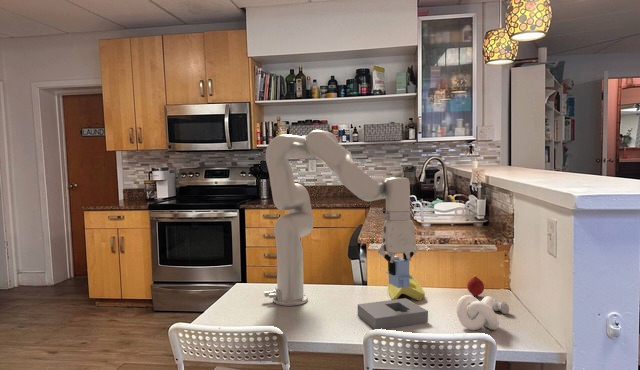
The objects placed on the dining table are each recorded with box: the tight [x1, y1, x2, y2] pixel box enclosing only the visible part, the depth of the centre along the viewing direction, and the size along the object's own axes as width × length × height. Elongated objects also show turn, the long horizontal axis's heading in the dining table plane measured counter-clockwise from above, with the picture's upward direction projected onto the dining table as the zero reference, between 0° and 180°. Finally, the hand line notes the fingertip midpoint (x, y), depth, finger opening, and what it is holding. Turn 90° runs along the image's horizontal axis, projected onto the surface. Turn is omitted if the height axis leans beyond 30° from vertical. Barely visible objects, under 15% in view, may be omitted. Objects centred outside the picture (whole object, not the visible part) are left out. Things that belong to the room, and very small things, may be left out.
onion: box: [466, 274, 485, 297], centre depth 149 cm, size 6×6×8 cm
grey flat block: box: [357, 297, 429, 330], centre depth 127 cm, size 18×13×4 cm
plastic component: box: [387, 273, 426, 301], centre depth 154 cm, size 20×7×10 cm
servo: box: [386, 255, 412, 288], centre depth 127 cm, size 4×9×9 cm, turn 19°
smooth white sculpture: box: [491, 297, 510, 315], centre depth 134 cm, size 4×8×5 cm
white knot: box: [455, 294, 500, 331], centre depth 121 cm, size 11×12×9 cm
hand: (398, 273), depth 127 cm, fingers closed on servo, 4 cm apart
